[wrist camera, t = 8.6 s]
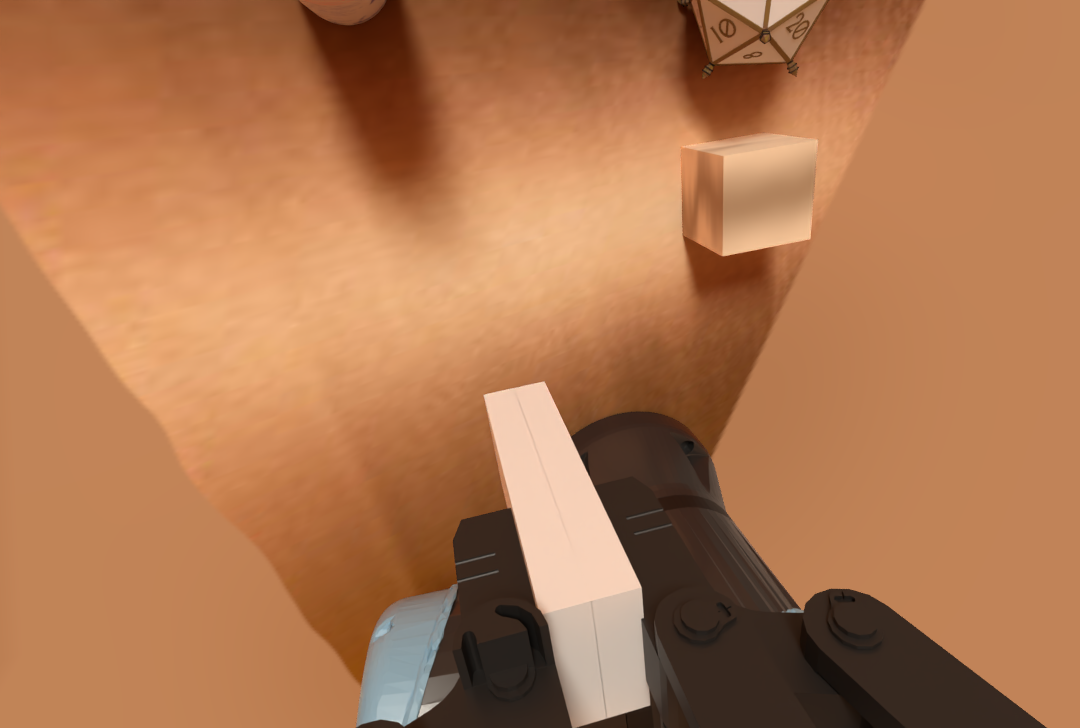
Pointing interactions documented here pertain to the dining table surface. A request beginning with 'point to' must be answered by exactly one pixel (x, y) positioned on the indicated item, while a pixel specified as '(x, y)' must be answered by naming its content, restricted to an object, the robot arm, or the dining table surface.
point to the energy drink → (345, 10)
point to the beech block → (748, 191)
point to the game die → (754, 30)
